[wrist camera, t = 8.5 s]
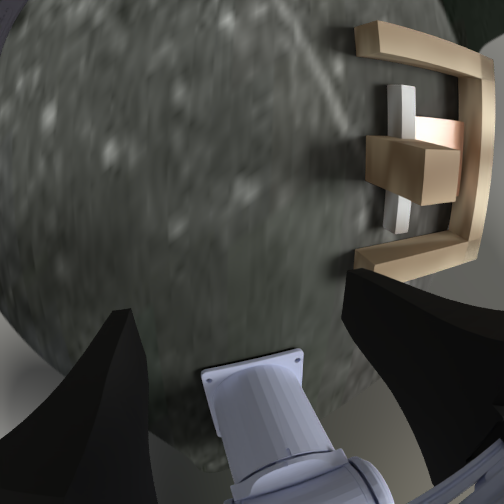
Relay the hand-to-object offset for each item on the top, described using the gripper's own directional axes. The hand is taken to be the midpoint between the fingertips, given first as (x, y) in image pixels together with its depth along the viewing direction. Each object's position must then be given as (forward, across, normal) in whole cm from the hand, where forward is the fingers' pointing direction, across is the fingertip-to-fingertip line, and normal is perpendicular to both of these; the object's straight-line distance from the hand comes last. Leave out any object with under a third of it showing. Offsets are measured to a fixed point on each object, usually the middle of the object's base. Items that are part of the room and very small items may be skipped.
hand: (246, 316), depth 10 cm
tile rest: (+9, -16, -3) cm, 18 cm away
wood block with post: (+9, -13, -3) cm, 16 cm away
